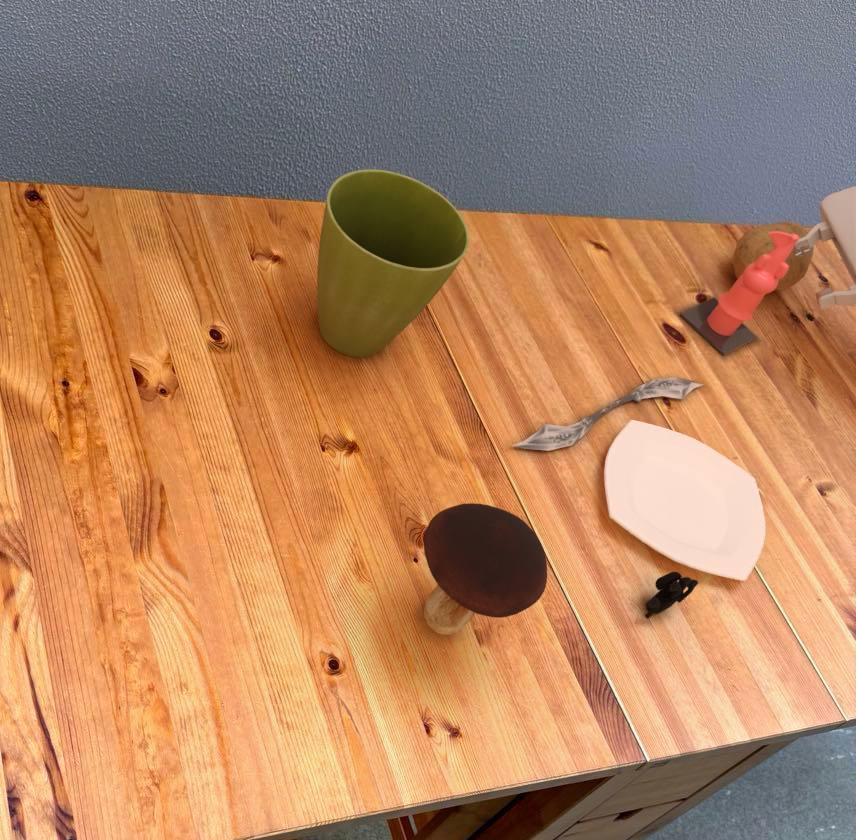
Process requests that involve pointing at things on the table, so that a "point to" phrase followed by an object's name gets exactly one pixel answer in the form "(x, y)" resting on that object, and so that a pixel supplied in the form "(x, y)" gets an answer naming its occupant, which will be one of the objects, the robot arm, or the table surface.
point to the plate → (684, 500)
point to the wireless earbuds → (669, 592)
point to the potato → (762, 243)
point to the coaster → (719, 342)
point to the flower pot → (382, 257)
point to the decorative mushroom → (481, 566)
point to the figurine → (752, 286)
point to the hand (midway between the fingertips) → (805, 275)
